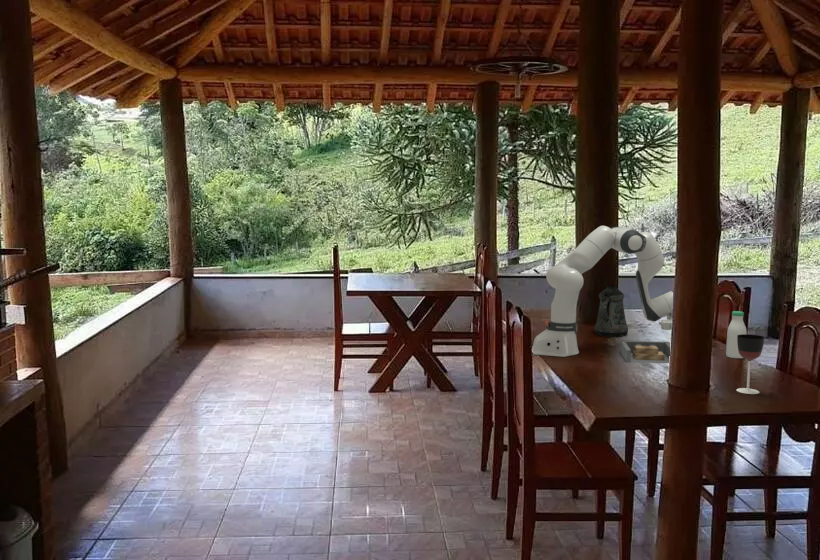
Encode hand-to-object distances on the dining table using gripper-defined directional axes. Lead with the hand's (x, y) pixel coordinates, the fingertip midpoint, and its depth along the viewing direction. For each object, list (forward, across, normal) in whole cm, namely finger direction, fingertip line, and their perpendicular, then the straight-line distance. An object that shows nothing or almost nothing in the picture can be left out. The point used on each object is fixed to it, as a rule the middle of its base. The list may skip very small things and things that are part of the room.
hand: (688, 328), depth 302 cm
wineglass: (+52, +10, +13) cm, 55 cm away
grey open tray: (+11, -18, +13) cm, 25 cm away
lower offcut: (+12, -18, +11) cm, 24 cm away
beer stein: (-45, -27, +13) cm, 54 cm away
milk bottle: (-4, +21, +13) cm, 25 cm away
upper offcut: (+12, -19, +9) cm, 24 cm away
